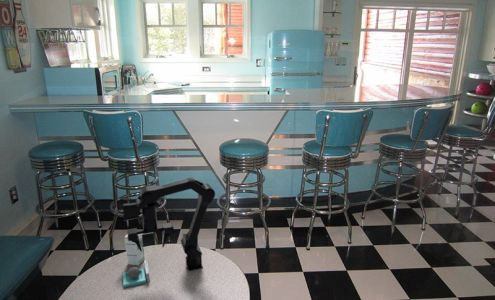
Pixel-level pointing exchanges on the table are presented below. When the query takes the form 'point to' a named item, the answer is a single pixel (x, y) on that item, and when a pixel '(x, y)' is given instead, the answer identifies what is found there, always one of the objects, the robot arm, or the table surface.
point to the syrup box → (134, 251)
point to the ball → (133, 272)
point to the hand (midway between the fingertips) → (152, 249)
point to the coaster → (131, 282)
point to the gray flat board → (146, 270)
